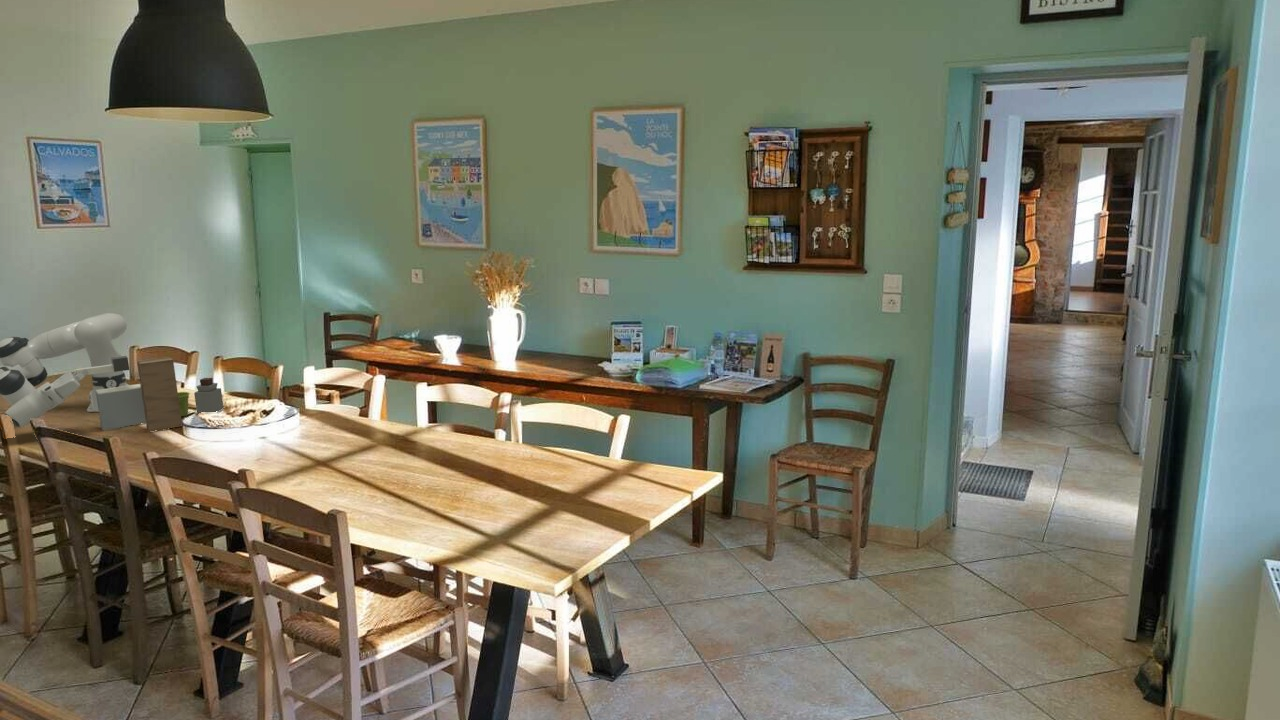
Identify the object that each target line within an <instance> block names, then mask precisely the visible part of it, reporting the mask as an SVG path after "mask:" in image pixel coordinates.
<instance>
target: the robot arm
mask: <svg viewBox="0 0 1280 720" xmlns="http://www.w3.org/2000/svg"><path fill="white" fill-rule="evenodd" d="M127 326H128V325H127V321H126V319H125V318H124V317H123V316H122V315H121V314H118V313H112V312H106V313H101V314H98V315H94V316H90V317H87V318H85V319H83V320H79V321H75V322H72V323H69V324H66V325H63V326H59V327H57V328H54V329H50V330H48V331H45V332H43V333H40V334H38V335H36V336H35V337H33V338H32V339H31V340H29V339H28V338H26V337H19V336H10V337H6V338H4V339H2V340H0V362H1V364H2V365H0V396H1V397H2V398H3V399H4V400H6V401H7V402H8V403H9V405H10V407H9V408H8V409H7V410H6V411H4V416H5V415H8V416H10V417H11V418H12V421H13V423H12V424H13V425H14V426H16V427H17V428H22V427H25V426H28V425H29V424H31V423H30V418H38V419H39V418H41V417H42V416H43V415H44V414H45V413H46V412H48V411H50V410H52V409H54V408H56V407H57V406H59V405H61V404H62V403H64V402H65V399H67V398H68V397H69V396H71V395H72V394H73V393H74V392H75V391H77V390H78V389H79V388H80V387H81V384H80V381H81V380H82V379H84V377H86V376H88V375H87V374H88V371H87V370H83V371H82V372H81V373H79V374H78V375H77V373H76V371H75V372H73V373H72V372H71V371H70V370H69V371H67V372H65V373H63V374H62V375H61V376H60V377H58V378H57V379H55V380H54V381H52V382H49V381H46V380H47V377H48V372H47V370H46V367H45V366H43V363H42V362H41V361H40V360H46V359H52V358H58V357H61V356H64V355H68V354H70V353H71V354H72V353H74V352H78V351H81V350H84V349H85V350H86V352H87V355H88V358H89V361H90V367H96V366H104V365H111V364H112V361H111V358H113V357H121V354H120V352H118V351H117V350H116V348H115V346H114V344H113V342H112V341H113V340H115V339H118V338H119V337H120V336H122V335H123V334H124V333H125V332H126V330H127ZM91 376H92V377H91V382H92V386H93V388H91V390H90V392H89V393H87V394H88V399H89V400H90V402H89V405H88V407H87V409H86V412H87V413H90V412H93V413H94V412H97V413H99V411H98V404H97V398H96V390H100V389H107V388H114V387H121V386H128V385H129V383H127V382H126V381H127V379H126V374H125V371H118V372H106V373H99V374H92V375H91ZM44 381H46V382H45V383H43V382H44ZM42 383H43V384H42ZM40 384H41V385H40ZM39 385H40V386H39ZM37 386H39V387H37ZM36 387H37V388H36Z"/></svg>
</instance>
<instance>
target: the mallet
mask: <svg viewBox="0 0 1280 720" xmlns="http://www.w3.org/2000/svg"><path fill="white" fill-rule="evenodd" d="M111 361H112V364H111V365H104V366H96V367H91V366H90V367H83V368H76V369H75V372H76V373H77V375H78V374H79V373H81V372H82V371H83V370H87V371H88V374H87V375H86V376H89V375H91V376H93V374H99V373H106V372H118V371H123V372H125V371H129V370H130V366H129V358H128V356H126V355H123V356H121V357H113V358H111Z"/></svg>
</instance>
